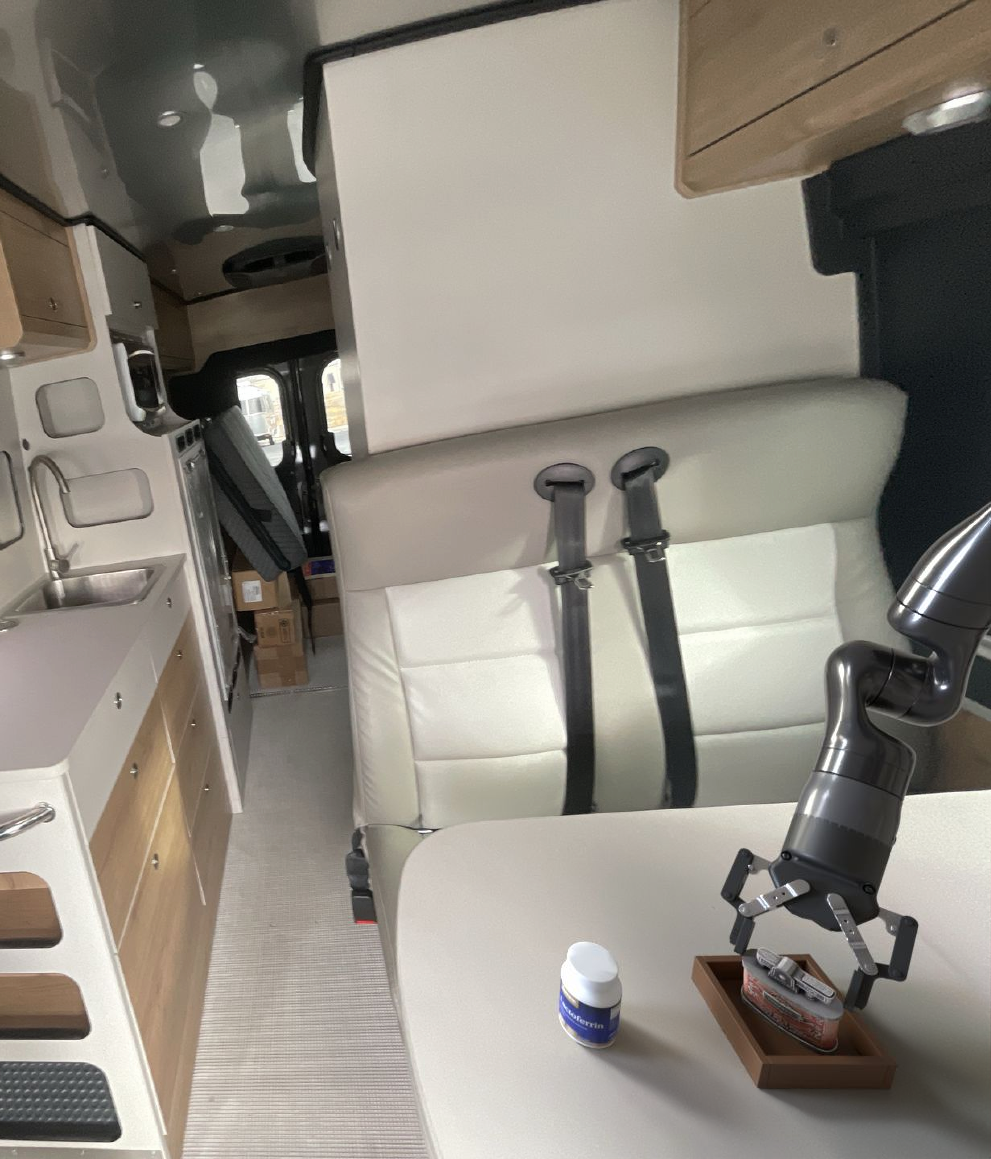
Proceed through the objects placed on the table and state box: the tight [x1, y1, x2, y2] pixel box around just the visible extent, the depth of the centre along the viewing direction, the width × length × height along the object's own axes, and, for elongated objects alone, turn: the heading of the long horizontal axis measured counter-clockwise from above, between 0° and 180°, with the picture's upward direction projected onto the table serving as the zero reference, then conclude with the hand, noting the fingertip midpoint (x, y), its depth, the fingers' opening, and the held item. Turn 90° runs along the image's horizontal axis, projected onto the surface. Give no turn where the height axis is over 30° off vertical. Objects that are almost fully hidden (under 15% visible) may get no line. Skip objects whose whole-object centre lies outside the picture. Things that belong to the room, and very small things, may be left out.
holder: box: [690, 953, 899, 1090], centre depth 69 cm, size 12×12×4 cm
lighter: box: [741, 946, 844, 1056], centre depth 67 cm, size 8×3×10 cm, turn 30°
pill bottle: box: [558, 941, 623, 1050], centre depth 71 cm, size 6×6×10 cm
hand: (790, 980), depth 66 cm, fingers closed on lighter, 8 cm apart
